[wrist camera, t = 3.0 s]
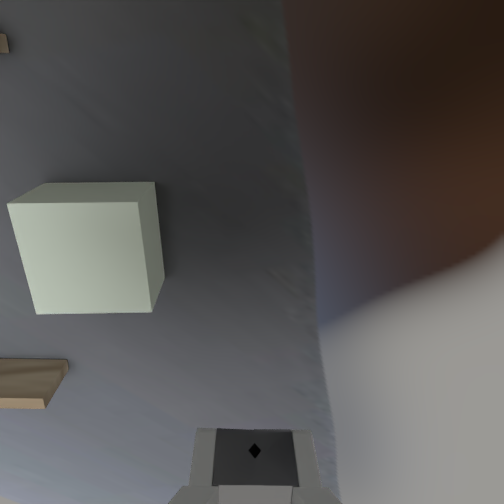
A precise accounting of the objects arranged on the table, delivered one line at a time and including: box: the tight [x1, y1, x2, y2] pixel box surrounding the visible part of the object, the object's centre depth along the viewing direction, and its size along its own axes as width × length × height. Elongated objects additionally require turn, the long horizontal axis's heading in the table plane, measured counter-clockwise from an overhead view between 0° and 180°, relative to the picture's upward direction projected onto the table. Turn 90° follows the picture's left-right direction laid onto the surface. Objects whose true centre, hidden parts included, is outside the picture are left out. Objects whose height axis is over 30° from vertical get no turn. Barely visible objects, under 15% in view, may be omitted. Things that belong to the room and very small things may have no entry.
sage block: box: [7, 182, 165, 314], centre depth 21 cm, size 6×6×4 cm
